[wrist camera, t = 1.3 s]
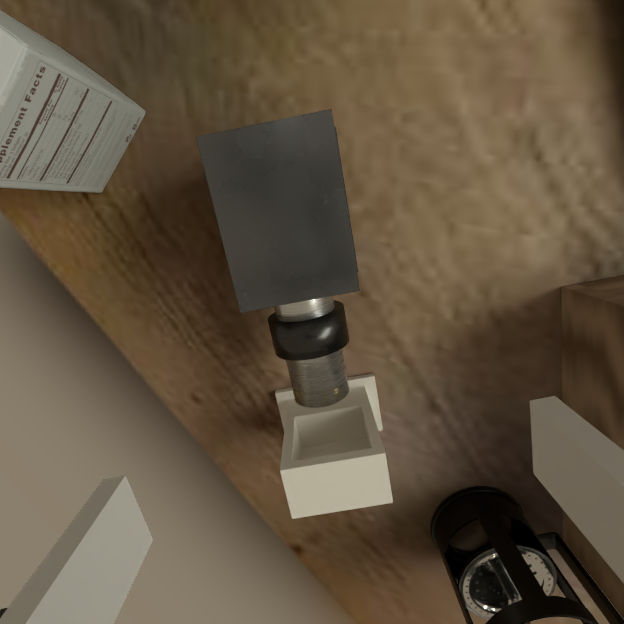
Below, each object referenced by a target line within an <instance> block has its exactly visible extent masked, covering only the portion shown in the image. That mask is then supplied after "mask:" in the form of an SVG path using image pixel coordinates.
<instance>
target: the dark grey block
mask: <svg viewBox="0 0 624 624" xmlns="http://www.w3.org/2000/svg"><path fill="white" fill-rule="evenodd" d="M196 138H197V142H198V146H199V150H200V154H201V158H202V162H203V166H204V170H205V174H206V178H207V182H208V186H209V190H210V194H211V198H212V202H213V206H214V210H215V214H216V218H217V222H218V226H219V230H220V234H221V238H222V242H223V246H224V250H225V254H226V258H227V262H228V266H229V270H230V274H231V278H232V282H233V286H234V289H235V293H236V297H237V301H238V305H239V309H240V313H242V312H248V311H253V310H259V309H264V308H269V307H275V306H280V305H286V304H291V303H296V302H302V301H307V300H313V299H318V298H323V297H329V296H334V295H340V294H345V293H350V292H356V291H360V288H359V282H358V276H357V272H358V268H357V261H356V255H355V249H354V242H353V236H352V229H351V223H350V216H349V210H348V204H347V197H346V191H345V184H344V178H343V172H342V165H341V159H340V152H339V146H338V140H337V133H336V127H334V123H333V116H332V110H331V109H329V110H324V111H319V112H314V113H309V114H305V115H300V116H295V117H290V118H285V119H281V120H276V121H271V122H266V123H261V124H256V125H252V126H247V127H242V128H237V129H232V130H227V131H223V132H218V133H213V134H208V135H203V136H199V137H196Z"/></svg>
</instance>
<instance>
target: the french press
mask: <svg viewBox="0 0 624 624" xmlns="http://www.w3.org/2000/svg"><path fill="white" fill-rule="evenodd" d="M498 516H504V517H509V518H510V519H511V527H510V530H509V533H508V532H507V530H506V528H505V527H504V525H503V523H502V522H501V520H500V518H499V517H498ZM478 519H479V521H480V523H481V525H482V527H483V529H484V530H485V532H486V534H487V536H488V538H489V540H490V541H491V543H492V545H491V546H488V547H486V548H484V549H482V550H481V551H479V552H478V553H467V552H463V551H460V550H457V549H455V548H454V547H452V546H451V545H450V544H449V542H450V540H451V539H452V537H453V536H454V535H455V534H456V533H457V532H458V531H459V530H460V529H461V528H462V527H464V526H465V525H467V524H469V523H470V522H473V521H475V520H478ZM431 535H432V539H433V542H434V543H435V545H436V547H437V549H438V550H439V551H440V554H441V557H442V559H443V562H444V565H445V567H446V570H447V573H448V575H449V578H450V580H451V583H452V586H453V588H454V591H455V594H456V596H457V599H458V602H459V604H460V607H461V610H462V612H463V615H464V618H465V620H466V623H467V624H473V622H472V619H471V617H470V614H469V612H468V610H469V611H471V612H472V613H474V614H475V615H477V616H480V617H482V618H485V619H489V620H488V622H487V623H486V624H531V623H530V621H533V620H537V619H541V618H546V617H571V618H575V619H580V620H581V621H582V623H583V624H598V622H597V621H596V619H595V618H594V617H593V615H592V614H591V613H590V612H589V611H588V609H587V608H585V606H584V605H583V603H582V602H581V600H580V599H579V597H578V596H577V594H576V593H575V592H574V590H573V589H572V587H571V586H570V584H569V583H568V581H567V580H566V579H565V577H564V576H563V574H562V573H561V571H560V570H559V568H558V567H557V565H556V564H555V563H554V561H553V560H552V558H551V557H550V555H549V554H548V552H547V551H546V550H550V549H556V550H557V551H558V552H559V554H560V555H561V556H562V558H563V559H564V561H565V562H566V563H567V565H568V566H569V568H570V569H571V570H572V572H573V573H574V575H575V576H576V577H577V579H578V580H579V581H580V583H581V584H582V586H583V587H584V588H585V590H586V591H587V593H588V594H589V595H590V597H591V598H592V599H593V601H594V602H595V604H596V605H597V606H598V608H599V609H600V611H601V612H602V613H603V615H604V616H605V618H606V619H607V620H608V622H609V623H610V624H624V620H623V618H622V617H621V616H620V614H619V613H618V612H617V610H616V609H615V608H614V607H613V605H612V604H611V603H610V601H609V600H608V599H607V597H606V596H605V595H604V593H603V592H602V591H601V589H600V588H599V587H598V586H597V584H596V583H595V582H594V580H593V579H592V578H591V576H590V575H589V574H588V572H587V571H586V570H585V568H584V567H583V566H582V564H581V563H580V562H579V561H578V559H577V558H576V557H575V555H574V554H573V553H572V551H571V550H570V549H569V547H568V546H567V545H566V543H565V542H564V541H563V540H562V538H561V537H560V536H559V534H558V533H556V532H550V533H544V534H538V535H536V534H535V532H534V530H533V529H532V527H531V526H530V524H529V523H528V521H527V520H526V519H525V517H524V516H523V512H522V510H521V508H520V506H519V504H518V503H517V502H516V501H515V500H514V498H513V497H511V496H510V495H509V494H507V493H506V492H503V491H501V490H499V489H496V488H492V487H472V488H468V489H464V490H461V491H459V492H457V493H454V494H453V495H451V496H450V497H448V498H447V499H446V500H444V501H443V502H442V503H441V504H440V505H439V507H438V508H437V510H436V511H435V513H434V515H433V517H432V521H431ZM457 581H458V584H457ZM556 583H557V585H558V586H559V588H560V589H561V591H562V592H563V594H564V595H565V597H566V598H563V597H559V596H551V595H552V593H553V592H554V589H555V586H556Z"/></svg>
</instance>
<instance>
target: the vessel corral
mask: <svg viewBox="0 0 624 624" xmlns="http://www.w3.org/2000/svg"><path fill="white" fill-rule="evenodd" d="M561 297H562V402H563V403H564V404H566V405H567V406H568V407H569V408H571V409H572V410H573V411H575V412H576V413H577V414H578V415H580V416H581V417H582V418H583V419H585V420H586V421H587V422H588V423H590V424H591V425H592V426H593V427H595V428H596V429H597V430H598V431H600V432H601V433H602V434H603V435H605V436H606V437H607V438H609V439H610V440H611V441H612V442H614V443H615V444H616V445H617V446H619V447H620V448H621V449H622V450H624V275H622V276H617V277H611V278H606V279H600V280H595V281H589V282H584V283H578V284H573V285H567V286H562V287H561ZM563 540H564V541H565V543H566V544H567V545H568V547H569V548H570V549H571V551H572V552H573V553H574V555H575V556H576V557H577V558H578V560H579V561H580V562H581V564H582V565H583V566H584V568H585V569H586V570H587V572H588V573H589V574H590V575H591V577H592V578H593V579H594V581H595V582H596V583H597V585H598V586H599V587H600V589H601V590H602V591H603V593H604V594H605V595H606V596H607V598H608V599H609V600H610V602H611V603H612V604H613V606H614V607H615V608H616V610H617V611H618V612H619V614H620V615H621V616H622V617H623V619H624V583H623V582H622V581H621V580H620V578H619V577H618V576H617V575H616V573H615V572H614V571H613V570H612V569H611V567H610V566H609V565H608V564H607V562H606V561H605V560H604V559H603V558H602V556H601V555H600V554H599V553H598V552H597V550H596V549H595V548H594V547H593V545H592V544H591V543H590V542H589V541H588V539H587V538H586V537H585V536H584V534H583V533H582V532H581V531H580V530H579V528H578V527H577V526H576V525H575V524H574V522H573V521H572V520H571V519H570V517H569V516H568V515H567V514H566V513H565V511H564V510H563Z"/></svg>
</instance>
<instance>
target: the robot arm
mask: <svg viewBox="0 0 624 624" xmlns="http://www.w3.org/2000/svg"><path fill="white" fill-rule="evenodd" d="M530 417H531V436H532V456H533V474H534V475H535V476H536V477H537V478H538V480H539V481H540V482H541V483H542V485H543V486H544V487H545V488H546V489H547V491H548V492H549V493H550V494H551V496H552V497H553V498H554V499H555V500H556V502H557V503H558V504H559V505H560V506H561V508H562V509H563V510H564V511H565V513H566V514H567V515H568V516H569V517H570V519H571V520H572V521H573V522H574V524H575V525H576V526H577V527H578V528H579V530H580V531H581V532H582V533H583V534H584V536H585V537H586V538H587V539H588V541H589V542H590V543H591V544H592V545H593V547H594V548H595V549H596V550H597V552H598V553H599V554H600V555H601V556H602V558H603V559H604V560H605V561H606V562H607V564H608V565H609V566H610V567H611V569H612V570H613V571H614V572H615V573H616V575H617V576H618V577H619V578H620V580H621V581H622V582H623V583H624V450H622V449H621V448H620V447H619V446H617V445H616V444H615V443H614V442H612V441H611V440H610V439H609V438H607V437H606V436H605V435H603V434H602V433H601V432H600V431H598V430H597V429H596V428H595V427H593V426H592V425H591V424H590V423H588V422H587V421H586V420H585V419H583V418H582V417H581V416H580V415H578V414H577V413H576V412H575V411H573V410H572V409H571V408H569V407H568V406H567V405H566V404H564V403H563V402H562V401H561V400H559V399H558V398H557V397H556V396H551V397H546V398H541V399H535V400H530ZM152 541H153V539H152V537H151V534H150V532H149V530H148V527H147V525H146V523H145V520H144V518H143V516H142V513H141V511H140V508H139V506H138V504H137V502H136V499H135V497H134V495H133V492H132V490H131V487H130V485H129V483H128V480H127V478H126V476H120V477H115V478H110V479H104V480H103V481H102V482H101V483H100V485H99V486H98V487H97V489H96V490H95V491H94V493H93V494H92V496H91V497H90V498H89V499H88V501H87V502H86V504H85V505H84V506H83V508H82V509H81V510H80V512H79V513H78V514H77V516H76V517H75V519H74V520H73V521H72V522H71V524H70V525H69V526H68V528H67V529H66V530H65V532H64V533H63V535H62V536H61V537H60V539H59V540H58V541H57V543H56V544H55V545H54V547H53V548H52V549H51V551H50V552H49V553H48V555H47V556H46V558H45V559H44V560H43V562H42V563H41V564H40V565H39V567H38V568H37V570H36V571H35V572H34V574H33V575H32V576H31V578H30V579H29V580H28V582H27V583H26V584H25V586H24V587H23V588H22V590H21V591H20V592H19V594H18V595H17V596H16V598H15V599H14V601H13V602H12V603H11V604H10V606H9V607H8V608H4V609H1V610H0V624H114V623H115V621H116V618H117V616H118V614H119V612H120V610H121V608H122V605H123V603H124V601H125V599H126V597H127V595H128V592H129V590H130V588H131V586H132V584H133V582H134V580H135V577H136V575H137V573H138V571H139V569H140V567H141V564H142V562H143V560H144V558H145V556H146V554H147V551H148V549H149V547H150V545H151V543H152Z"/></svg>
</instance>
